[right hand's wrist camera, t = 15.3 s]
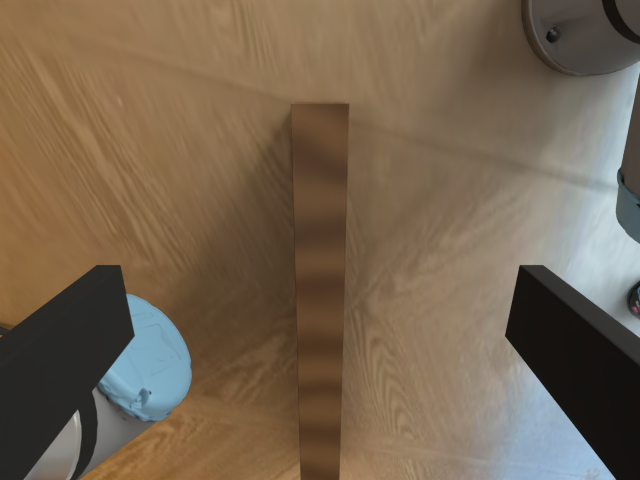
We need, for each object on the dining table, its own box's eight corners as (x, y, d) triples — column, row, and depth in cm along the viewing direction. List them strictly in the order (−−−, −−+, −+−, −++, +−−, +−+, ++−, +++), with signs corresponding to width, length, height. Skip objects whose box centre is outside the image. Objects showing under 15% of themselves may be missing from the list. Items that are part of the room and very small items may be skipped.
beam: (295, 102, 41) (290, 103, 34) (344, 102, 41) (349, 103, 34) (303, 456, 59) (301, 502, 53) (336, 456, 59) (338, 502, 53)
